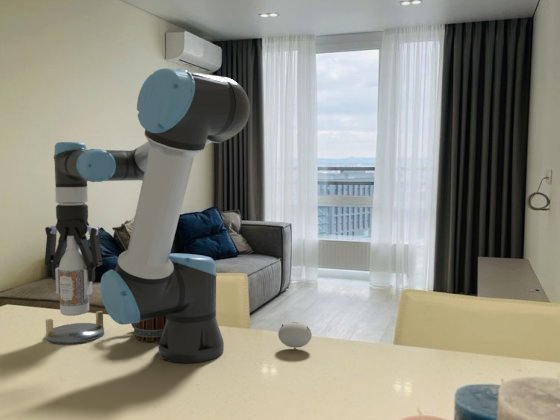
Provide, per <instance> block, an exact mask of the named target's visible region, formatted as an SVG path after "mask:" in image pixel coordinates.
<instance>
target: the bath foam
mask: <svg viewBox="0 0 560 420" xmlns="http://www.w3.org/2000/svg"><path fill="white" fill-rule="evenodd" d="M85 268H87V267H86V264H85V262H84V259H83V256H82V254H81V251H80V248H79V246H78V244H77V243H76V241H75V239H74V236H67V248H66V251H65V254H64V255H63V257H62V259H61V261H60V265H59V288H60V294H59V309H60V310H59V311H60V314H61V315H63V316H67V317H69V316H70V317H71V316H73V317H74V316H81V315H84V314H87V313H88V312H89V311H90V294H89V295H84V269H85Z"/></svg>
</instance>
